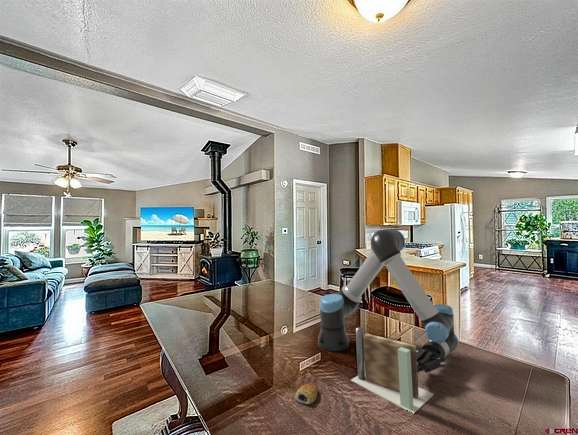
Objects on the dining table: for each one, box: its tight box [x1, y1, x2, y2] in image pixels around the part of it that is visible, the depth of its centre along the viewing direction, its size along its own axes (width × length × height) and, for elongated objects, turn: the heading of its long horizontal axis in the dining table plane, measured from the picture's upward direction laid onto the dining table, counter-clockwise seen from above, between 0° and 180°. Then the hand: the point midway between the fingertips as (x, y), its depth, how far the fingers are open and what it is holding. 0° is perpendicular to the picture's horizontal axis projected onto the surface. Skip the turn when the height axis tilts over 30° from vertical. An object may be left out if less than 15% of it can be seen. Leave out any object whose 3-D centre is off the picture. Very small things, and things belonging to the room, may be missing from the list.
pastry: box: [294, 382, 319, 405], centre depth 92 cm, size 9×7×4 cm
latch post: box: [398, 347, 413, 410], centre depth 85 cm, size 3×2×18 cm
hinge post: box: [355, 326, 366, 380], centre depth 101 cm, size 3×3×19 cm
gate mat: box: [350, 375, 435, 415], centre depth 95 cm, size 24×14×1 cm, turn 39°
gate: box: [363, 333, 419, 398], centre depth 94 cm, size 18×2×17 cm, turn 50°
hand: (406, 372), depth 91 cm, fingers closed
